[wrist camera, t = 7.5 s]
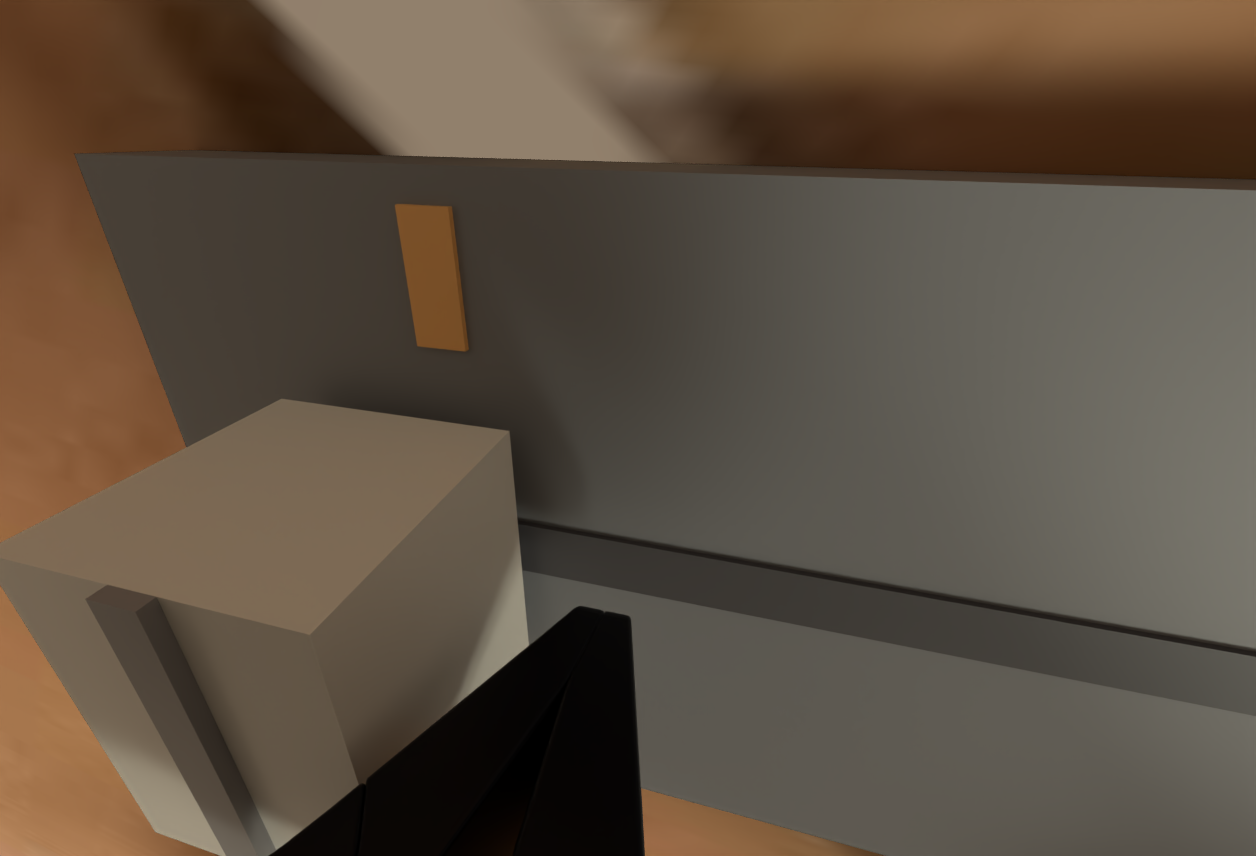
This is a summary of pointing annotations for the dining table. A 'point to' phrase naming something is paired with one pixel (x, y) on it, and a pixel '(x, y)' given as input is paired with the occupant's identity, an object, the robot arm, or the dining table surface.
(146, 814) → the cap
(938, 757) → the plate
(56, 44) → the dining table surface
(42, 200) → the dining table surface
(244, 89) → the dining table surface
